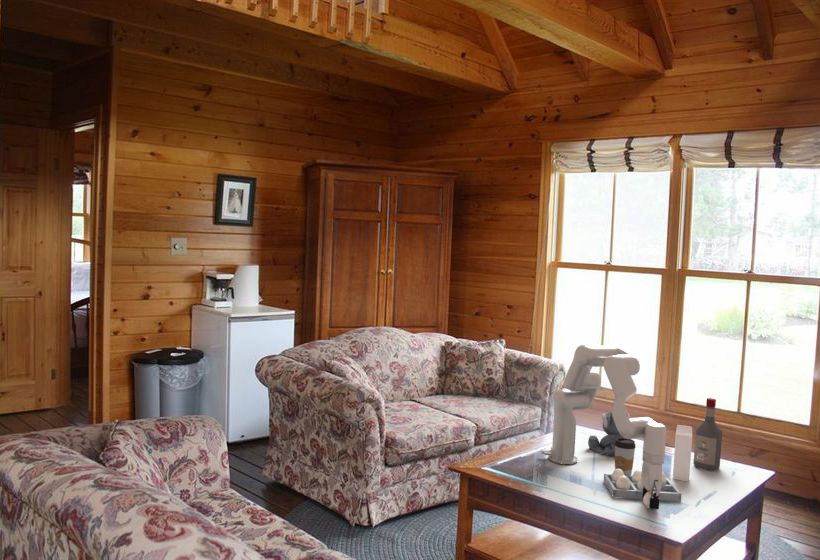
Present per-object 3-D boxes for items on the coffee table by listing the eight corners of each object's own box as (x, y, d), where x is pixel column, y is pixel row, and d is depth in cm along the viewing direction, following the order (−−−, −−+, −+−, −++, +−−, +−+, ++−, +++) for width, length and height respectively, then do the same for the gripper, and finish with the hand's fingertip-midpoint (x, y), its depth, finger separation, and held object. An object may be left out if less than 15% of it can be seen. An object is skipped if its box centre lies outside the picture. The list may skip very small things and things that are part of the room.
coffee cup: (608, 475, 285) (611, 440, 284) (618, 471, 291) (620, 436, 290) (627, 481, 279) (630, 445, 278) (637, 476, 285) (639, 440, 284)
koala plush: (614, 445, 328) (617, 404, 326) (641, 457, 311) (644, 414, 310) (584, 448, 321) (587, 407, 319) (610, 461, 304) (613, 417, 303)
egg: (644, 509, 251) (645, 493, 250) (640, 504, 256) (641, 488, 256) (659, 510, 251) (660, 494, 250) (655, 505, 256) (656, 489, 255)
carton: (613, 497, 261) (614, 479, 261) (603, 481, 278) (604, 464, 278) (681, 501, 260) (682, 483, 259) (667, 485, 277) (668, 468, 276)
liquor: (712, 472, 294) (717, 402, 292) (691, 466, 301) (696, 398, 299) (721, 468, 301) (726, 400, 298) (700, 462, 307) (705, 395, 305)
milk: (672, 474, 290) (676, 422, 288) (688, 477, 288) (691, 424, 286) (673, 479, 284) (676, 426, 282) (689, 481, 282) (692, 428, 281)
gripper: (636, 449, 261) (633, 494, 262) (649, 464, 243) (646, 512, 245) (656, 450, 260) (653, 495, 262) (671, 465, 243) (668, 514, 244)
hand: (650, 503), depth 253 cm, fingers open, 8 cm apart
